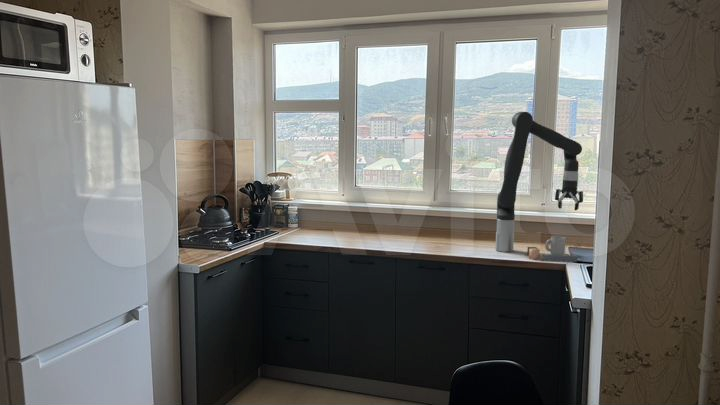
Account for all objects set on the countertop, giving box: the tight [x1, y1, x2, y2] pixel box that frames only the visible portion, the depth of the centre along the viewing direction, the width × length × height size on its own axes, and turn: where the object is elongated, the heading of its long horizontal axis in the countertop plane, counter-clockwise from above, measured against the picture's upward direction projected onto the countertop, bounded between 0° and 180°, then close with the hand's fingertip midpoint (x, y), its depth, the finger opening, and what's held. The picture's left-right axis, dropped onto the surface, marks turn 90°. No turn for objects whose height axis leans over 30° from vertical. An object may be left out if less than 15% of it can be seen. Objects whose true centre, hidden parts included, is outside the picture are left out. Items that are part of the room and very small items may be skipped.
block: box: [526, 246, 539, 256], centre depth 277 cm, size 4×4×4 cm
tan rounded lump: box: [528, 247, 541, 261], centre depth 269 cm, size 5×5×5 cm
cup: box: [544, 235, 566, 255], centre depth 280 cm, size 7×10×9 cm
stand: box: [541, 252, 578, 263], centre depth 265 cm, size 16×4×3 cm, turn 80°
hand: (567, 209), depth 285 cm, fingers open, 8 cm apart
